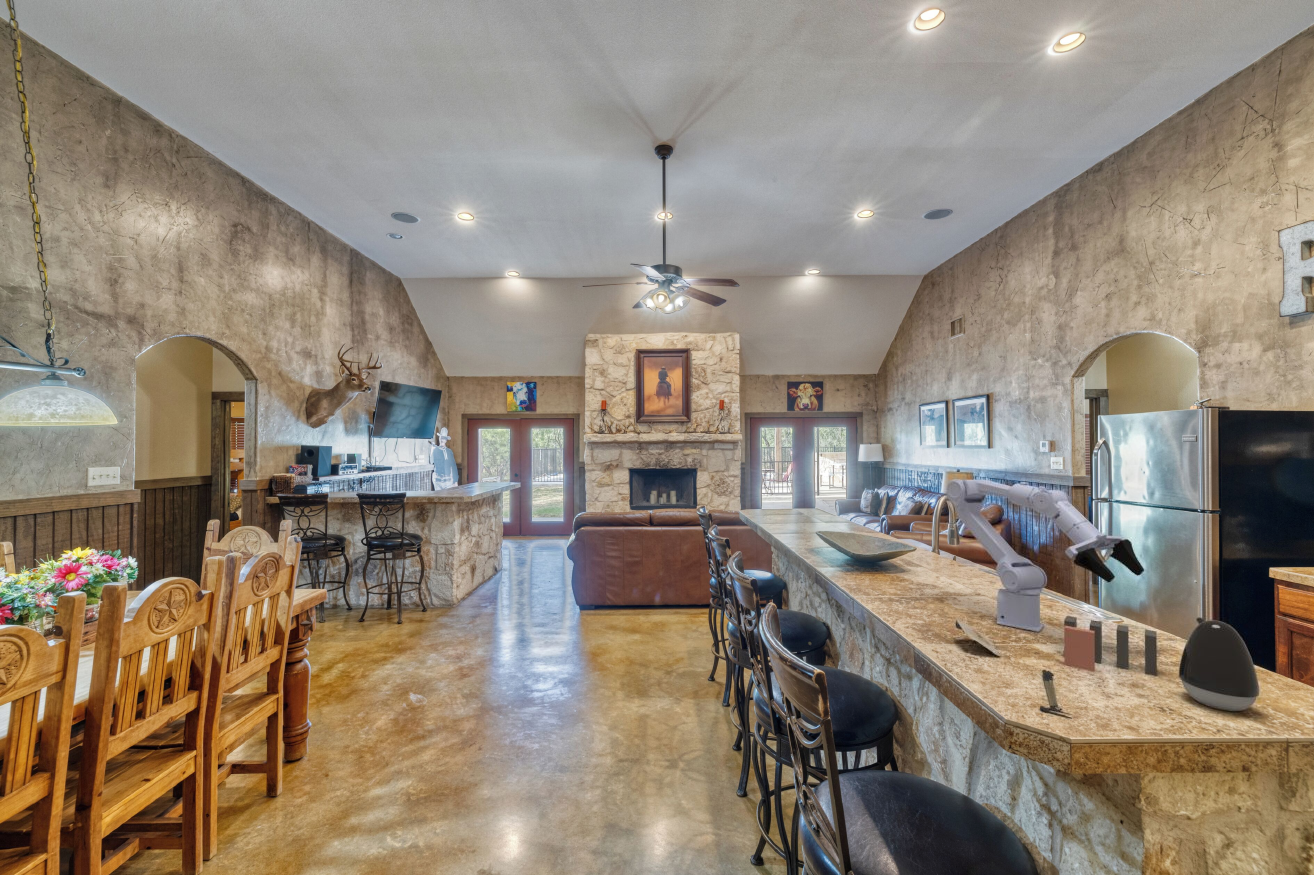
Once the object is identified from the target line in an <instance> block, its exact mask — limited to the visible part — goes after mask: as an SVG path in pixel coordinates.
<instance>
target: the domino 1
mask: <svg viewBox="0 0 1314 875" xmlns="http://www.w3.org/2000/svg"><path fill="white" fill-rule="evenodd" d="M1077 620H1078V618H1077V617H1076V616H1070V615H1066V616H1065V618H1064V621H1063V623H1064V624H1063V627H1065V626H1070V627H1075V628H1078V627H1077V625H1078V624H1077V623H1078V622H1077Z"/></svg>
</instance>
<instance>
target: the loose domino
mask: <svg viewBox="0 0 1314 875" xmlns="http://www.w3.org/2000/svg"><path fill="white" fill-rule="evenodd" d="M1063 627H1064V626H1063ZM1063 632H1064V633H1063V638H1064V639H1063V640H1064V642H1063V644H1064V645H1063V653H1064V654H1063V657H1064V661H1063V662H1064V663H1063V664H1064V665H1065V666H1068V667H1073V668H1077V669H1082V670H1085V671H1086V670H1087V671H1090V672H1095V669H1096V663H1095V631H1091V630H1090V629H1085V628H1079V627H1077V628H1075V627H1070V626H1065V627H1064V629H1063Z"/></svg>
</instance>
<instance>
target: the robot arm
mask: <svg viewBox="0 0 1314 875" xmlns="http://www.w3.org/2000/svg"><path fill="white" fill-rule="evenodd" d="M990 495H992V496H997V497H1003V498H1006V499H1008V500H1009V501H1010V503H1012V504H1013V505H1017V506H1020V507H1021V506H1022V507H1025V508H1027V509H1028V508H1029V509H1033V510H1034V511H1035V512H1037V513H1039V514H1042V515H1045V516H1047V518H1049V519H1050V520H1051V521H1052V522H1053V523H1054V524H1055V525H1056V526H1057V527H1058V528H1059V529H1060V530H1061V531H1062V532H1063V533H1064V534H1065V535H1066V536H1067V537H1068V538H1069V539H1070V541H1072V542H1073V544H1075V545H1071V546H1068V547H1067V548H1066V550H1064V554H1066V555H1067V556H1068V557H1069V559H1073V564H1074V565H1075V566H1078V567H1081V568H1083V569H1085V570H1086V571H1087V570H1088V571H1089V572H1091V573H1092V574H1094V575H1096V576H1098V577H1099V578H1101V579H1102V580H1103V581H1105V582H1107V583H1111V582H1112V581H1113V580H1114V579H1115V577H1116V576H1115V574H1114V573H1113V571H1112V570H1110V568H1109V567H1108V566H1107V565H1106V564H1105V563H1104V561H1103V560H1102V559H1101V557H1100V556H1099V555H1098V553H1097V552H1101V551H1106V550H1110V549H1111V551H1112V552H1111V553H1110V555H1109V557H1110V558H1113V559H1114V560H1115V561H1118V562H1119V563H1121V564H1122V565H1124V566H1125V568H1127V569H1128V570H1129V571H1130V572H1131V573H1132V574H1134V575H1135V576H1140V575H1142V574H1143V573H1144V571H1145V568H1144V567H1143V566H1142V564H1141V562H1140V560H1139V558H1138V557H1137V556H1136V553H1135V551H1134V548H1133V543H1132V542H1131V541H1130V540H1129V539H1127V538H1125V537H1124V536H1123V535H1108V534H1107V533H1106V532H1101V531H1099V529H1098V528H1096V527H1095V526H1094V525H1093V523H1091V522H1090V520H1088V518H1086V517H1085V516H1084V515H1083V514H1082V513H1081V512H1080V511H1079V510H1078V509H1077V508H1076V507H1075V506H1074V505H1073V504H1071V498H1070V496H1069V495H1068V493H1066V492H1065V491H1062V490H1061V489H1052V490H1050V489H1047V488H1046V487H1045V486H1038V487H1037V486H1033V485H1029V482H1027V481H1026V482H1025V481H1023V482H1022V481H1021V482H1020V483H1015V484H1013V485H1007V484H1004V483H1001V482H997V481H992V480H989V479H979V478H976V479H958V478H954V479H951V480H949V482H948V483H947V485H946V495H945V496H946V497H947V499H948V500H949V501H950V502H951V504H952V505H953V508H954V510H955V512H956V514H957V517H958V519H959V520H960V521H961V523H963V524H964V526H965V527H966V529H968V530H969V532H970V533H971V534H972V536H974V538H975V540H977V541H978V542H979V544H980V545H981V546H982V548H984V549H985V550H986V552H987V553H988V554H989V556H991V558H992V559H993V560H994V561H995V563H997V565H996V568H995V572H996V574H997V575H998V577H999V580H1000V582H1001V584H1002V586H1003V587H1004V588H999V589H998V591H997V594H996V595H997V596H996V624H997V625H1003V626H1007V627H1013V628H1016V629H1023V630H1027V631H1032V632H1037V633H1039V632H1041V631H1042V629H1043V627H1044V625H1045V624H1044V623H1043V622H1041V593H1042V592H1043V591H1042V590H1043V589H1044V588H1045V587H1046V585H1047V584H1048V583H1047V582H1048V577H1047V574H1046V572H1045V571H1044V569H1042V568H1041V567H1039V566H1038V565H1035V564H1034V563H1033V562H1032V561H1031V560H1030V559H1028V558H1026V557H1024V556H1022V555H1020V554H1018V553H1017V552H1016V551H1015V550H1014V549H1013V548H1012V547H1011V545H1010V544H1009V543H1008V542H1007V541H1006V540H1005V539H1004V538H1003V537H1002V535H1001V534H1000V533H999V532H998V531H997V530H996V529H995V528H994V526H993V525H992V524H991V523H990V522H989V521H988V520H987V518H986V517H985V516H984V515H983V514H982V513H981V510H983V507H984V504H985V501H986V498H987V496H990Z"/></svg>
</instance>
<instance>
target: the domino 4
mask: <svg viewBox="0 0 1314 875" xmlns="http://www.w3.org/2000/svg"><path fill="white" fill-rule="evenodd" d="M1157 634H1158V633H1157V631H1156V630H1151V629H1145V630H1144V674H1145V675H1149V676H1155V677H1158V652H1157V650H1158V648H1157V647H1158V646H1157V644H1158V642H1157V641H1158V640H1157V637H1158V636H1157Z"/></svg>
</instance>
